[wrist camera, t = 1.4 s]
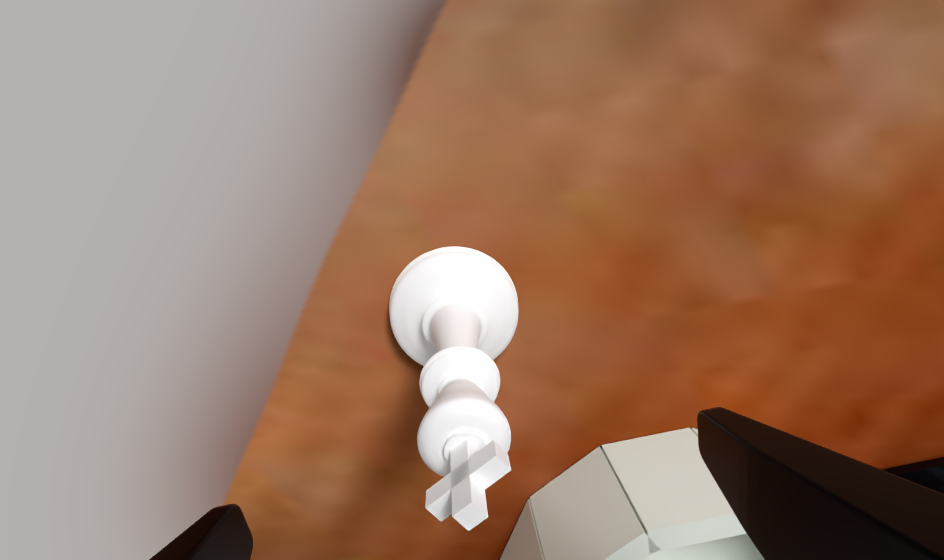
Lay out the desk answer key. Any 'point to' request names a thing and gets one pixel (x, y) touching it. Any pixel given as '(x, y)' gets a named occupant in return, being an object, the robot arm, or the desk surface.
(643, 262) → the desk surface
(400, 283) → the chess piece
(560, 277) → the desk surface
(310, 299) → the desk surface
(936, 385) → the desk surface
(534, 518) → the bowl
